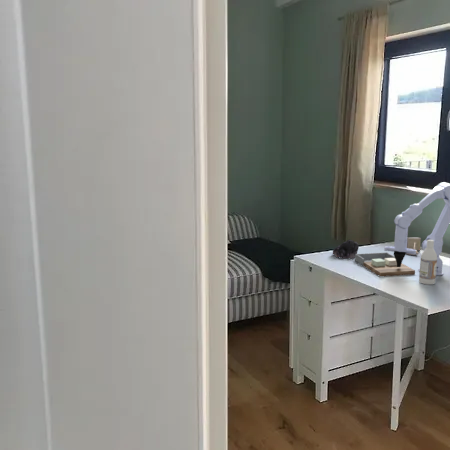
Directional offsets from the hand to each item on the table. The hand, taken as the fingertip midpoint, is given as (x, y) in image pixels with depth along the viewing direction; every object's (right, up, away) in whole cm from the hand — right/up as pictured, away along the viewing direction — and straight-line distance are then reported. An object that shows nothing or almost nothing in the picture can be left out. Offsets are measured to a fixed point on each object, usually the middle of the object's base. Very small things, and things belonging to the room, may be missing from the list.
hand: (398, 266), depth 249 cm
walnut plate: (-4, -2, +4) cm, 6 cm away
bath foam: (+8, -6, -14) cm, 18 cm away
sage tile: (-8, 0, +6) cm, 10 cm away
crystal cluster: (-19, +3, +30) cm, 36 cm away
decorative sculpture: (+19, +5, +37) cm, 42 cm away
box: (-6, +1, +18) cm, 19 cm away
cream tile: (-1, +1, +7) cm, 8 cm away
